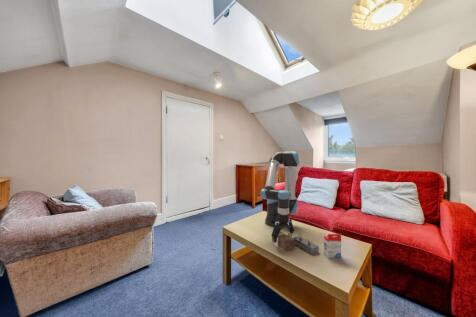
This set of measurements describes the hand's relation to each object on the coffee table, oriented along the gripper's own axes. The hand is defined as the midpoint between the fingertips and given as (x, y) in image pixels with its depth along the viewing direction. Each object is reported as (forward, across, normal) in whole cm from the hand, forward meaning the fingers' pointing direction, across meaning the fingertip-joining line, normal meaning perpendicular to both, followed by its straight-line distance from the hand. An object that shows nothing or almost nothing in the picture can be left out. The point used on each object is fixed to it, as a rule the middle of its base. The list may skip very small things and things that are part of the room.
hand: (283, 244), depth 124 cm
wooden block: (0, 0, 0) cm, 0 cm away
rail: (0, +10, -10) cm, 14 cm away
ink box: (0, +17, -25) cm, 30 cm away
